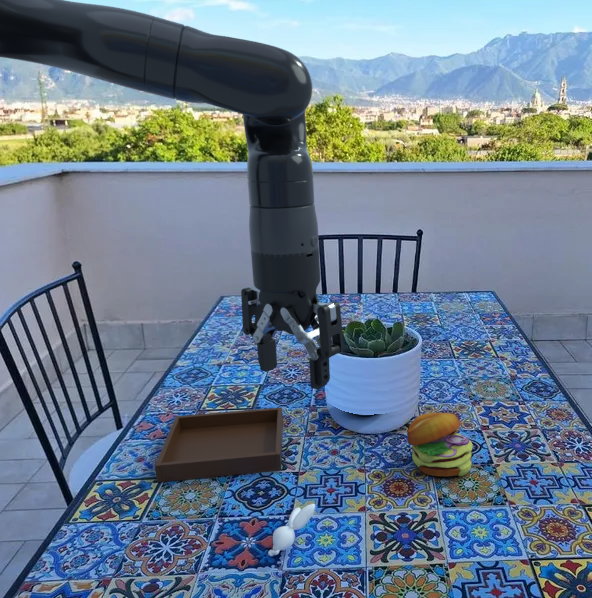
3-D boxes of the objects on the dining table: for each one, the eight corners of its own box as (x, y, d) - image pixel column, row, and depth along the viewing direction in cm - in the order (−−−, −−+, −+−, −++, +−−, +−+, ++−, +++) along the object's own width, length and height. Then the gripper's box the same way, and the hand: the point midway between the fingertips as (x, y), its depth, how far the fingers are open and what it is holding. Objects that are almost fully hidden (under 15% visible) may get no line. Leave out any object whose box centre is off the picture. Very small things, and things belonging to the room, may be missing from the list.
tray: (157, 482, 90) (154, 465, 89) (177, 430, 106) (175, 416, 105) (281, 470, 93) (279, 453, 92) (283, 421, 109) (282, 407, 108)
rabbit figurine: (255, 548, 76) (292, 498, 80) (276, 566, 76) (312, 516, 81) (269, 550, 71) (307, 497, 75) (291, 570, 71) (328, 516, 76)
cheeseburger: (450, 491, 87) (438, 430, 86) (400, 479, 94) (388, 423, 93) (487, 462, 94) (476, 406, 93) (438, 453, 101) (427, 401, 100)
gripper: (216, 243, 64) (229, 374, 69) (307, 258, 56) (315, 405, 61) (266, 233, 70) (275, 355, 74) (355, 246, 62) (359, 381, 66)
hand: (293, 377), depth 68 cm, fingers open, 8 cm apart
